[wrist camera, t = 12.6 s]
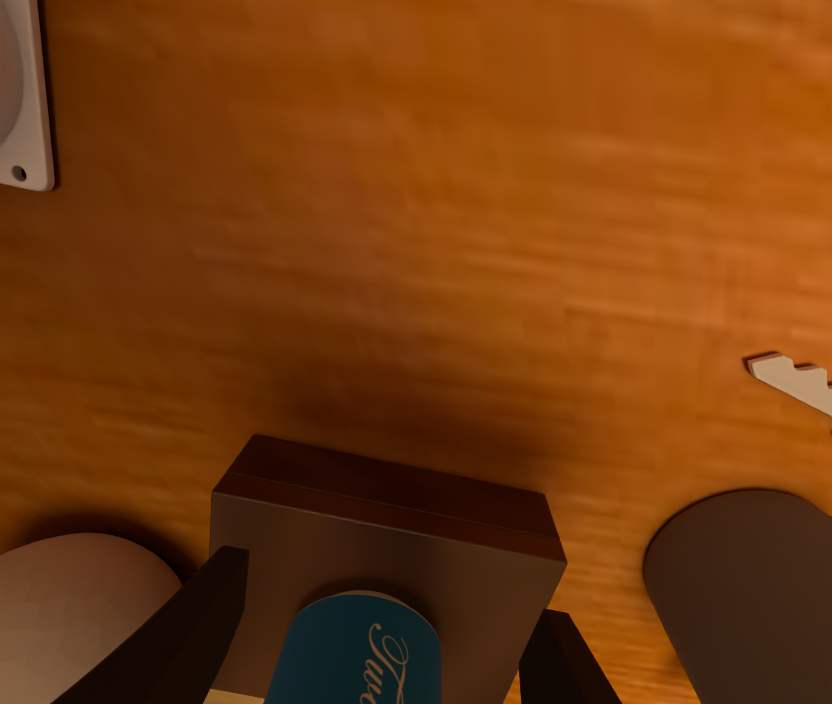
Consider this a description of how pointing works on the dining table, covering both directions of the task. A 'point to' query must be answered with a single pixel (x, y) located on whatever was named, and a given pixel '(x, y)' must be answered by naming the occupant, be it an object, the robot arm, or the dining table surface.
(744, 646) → the mug
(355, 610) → the beverage can
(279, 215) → the dining table surface
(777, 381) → the key
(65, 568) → the decorative egg
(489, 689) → the shelf
